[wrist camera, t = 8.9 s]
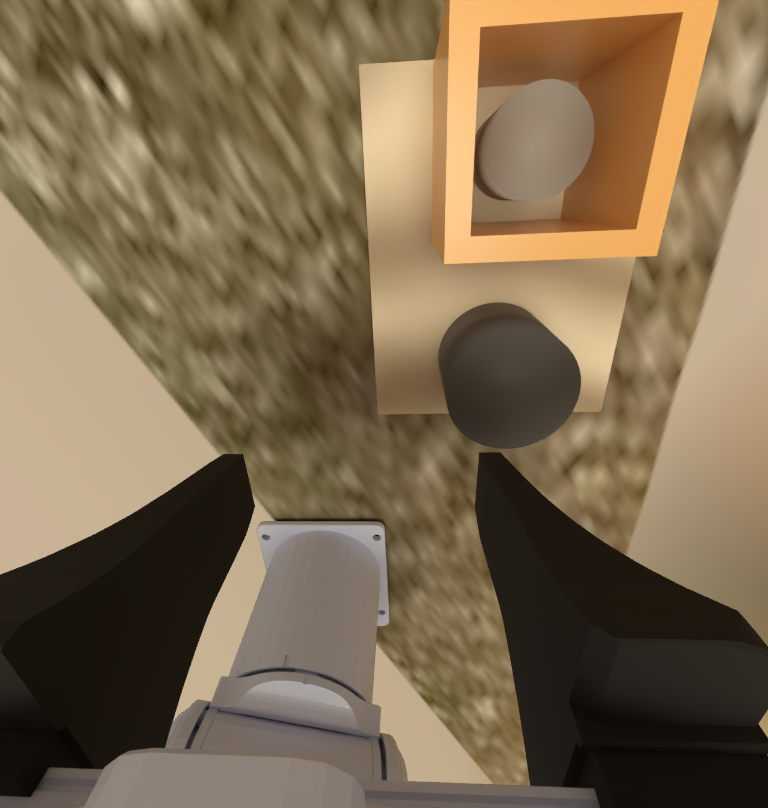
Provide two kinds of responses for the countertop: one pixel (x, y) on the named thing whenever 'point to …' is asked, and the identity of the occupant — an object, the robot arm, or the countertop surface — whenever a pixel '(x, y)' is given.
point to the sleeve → (611, 107)
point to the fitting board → (484, 264)
